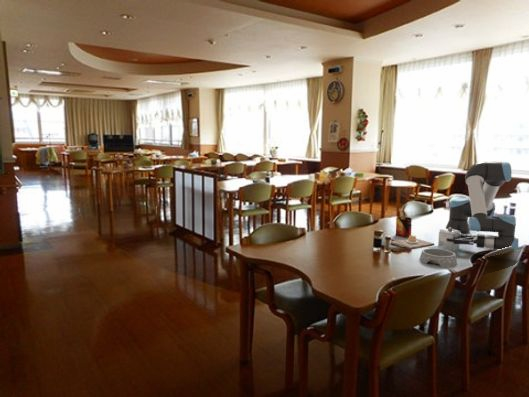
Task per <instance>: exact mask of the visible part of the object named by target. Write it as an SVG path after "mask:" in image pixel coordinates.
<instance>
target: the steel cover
mask: <svg viewBox="0 0 529 397" xmlns="http://www.w3.org/2000/svg"><path fill="white" fill-rule="evenodd" d="M441 236H443V237H452V238H453V237H455V238H461V232H460V231H458V230H454V229H452V228H448V229H446V228H441V229H439V231H438V241H437V243H438V244H437V246H438V249H444V250H448V251H451V252H456V251H459V250H460V248H461V244H454V243H452V242H444V241H440V239H441Z"/></svg>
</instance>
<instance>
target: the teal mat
mask: <svg viewBox="0 0 529 397" xmlns="http://www.w3.org/2000/svg"><path fill="white" fill-rule="evenodd" d="M429 248H435V249H438V245H432V246H427V249H429ZM470 251H471V250H470V249H466V248H462V247H460V250H459V251H456V252H454V253H455V254H461V253H466V252H470Z"/></svg>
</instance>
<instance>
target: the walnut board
mask: <svg viewBox="0 0 529 397" xmlns="http://www.w3.org/2000/svg"><path fill="white" fill-rule="evenodd" d="M406 240H408V238H404V239H397V240H392V241H391V242H392V243H395V244H399V245H402V246H405V247H407V248H406V249H409V250H414V249H415V250H416V249H420V248H421V249H422V248H426V247H427V248H428V247H433V246H435V243H434V242H430V241H427V240H422V239H420V238H416V240H417V241H418V244H410V243H407V242H406Z"/></svg>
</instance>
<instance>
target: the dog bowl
mask: <svg viewBox="0 0 529 397" xmlns="http://www.w3.org/2000/svg"><path fill="white" fill-rule="evenodd" d="M456 254H457V253H456ZM456 254H455V253H454V252H451V251H448V250H444V249H435V248H424V249H422V251H421V253H420V256H419V262H421V263H423V264H425V265H426V264H428V262H429V263H430V264H434V265H435V264H437V265H439V266H440V267H442V268H450V267H455V266H457V265H458V261H457V255H456Z"/></svg>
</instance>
